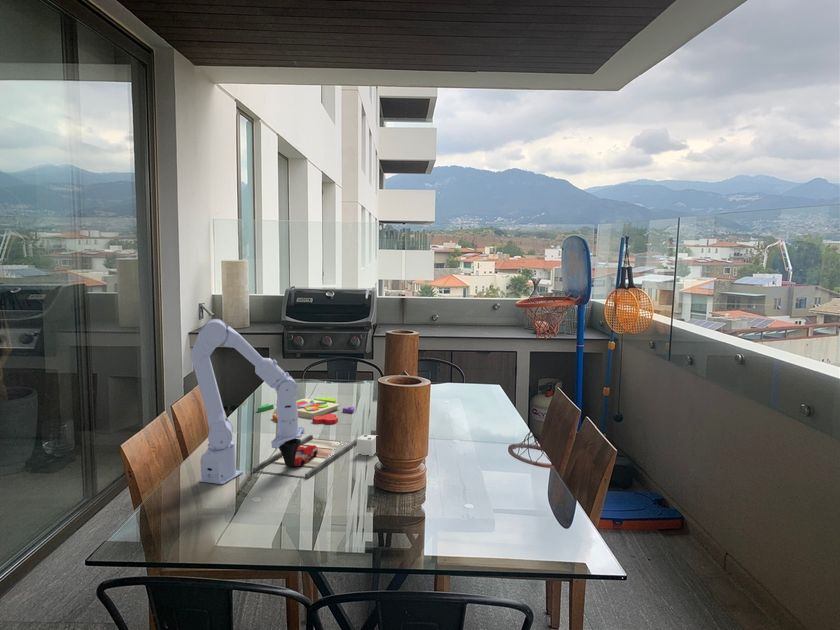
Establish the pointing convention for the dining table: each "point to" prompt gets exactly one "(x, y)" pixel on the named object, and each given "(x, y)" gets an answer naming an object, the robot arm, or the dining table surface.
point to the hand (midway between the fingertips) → (289, 465)
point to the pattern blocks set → (313, 409)
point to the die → (366, 445)
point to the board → (315, 463)
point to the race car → (305, 454)
